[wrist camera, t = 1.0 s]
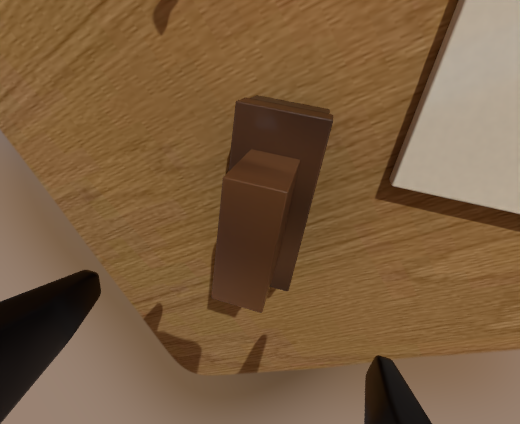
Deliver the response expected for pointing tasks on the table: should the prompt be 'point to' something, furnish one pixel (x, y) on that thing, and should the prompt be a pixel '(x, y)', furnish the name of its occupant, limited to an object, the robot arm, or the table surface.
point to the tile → (469, 112)
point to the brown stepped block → (267, 197)
